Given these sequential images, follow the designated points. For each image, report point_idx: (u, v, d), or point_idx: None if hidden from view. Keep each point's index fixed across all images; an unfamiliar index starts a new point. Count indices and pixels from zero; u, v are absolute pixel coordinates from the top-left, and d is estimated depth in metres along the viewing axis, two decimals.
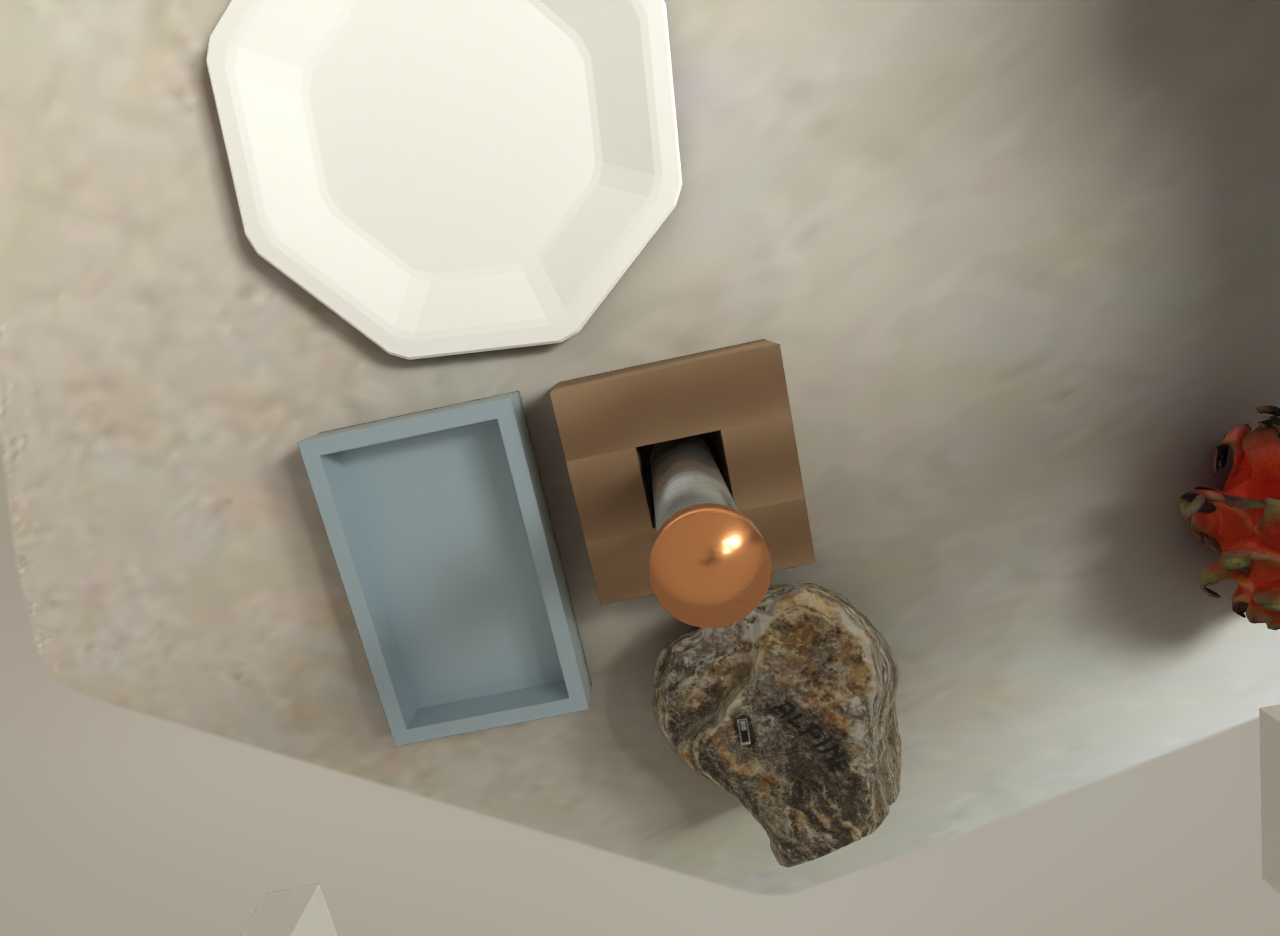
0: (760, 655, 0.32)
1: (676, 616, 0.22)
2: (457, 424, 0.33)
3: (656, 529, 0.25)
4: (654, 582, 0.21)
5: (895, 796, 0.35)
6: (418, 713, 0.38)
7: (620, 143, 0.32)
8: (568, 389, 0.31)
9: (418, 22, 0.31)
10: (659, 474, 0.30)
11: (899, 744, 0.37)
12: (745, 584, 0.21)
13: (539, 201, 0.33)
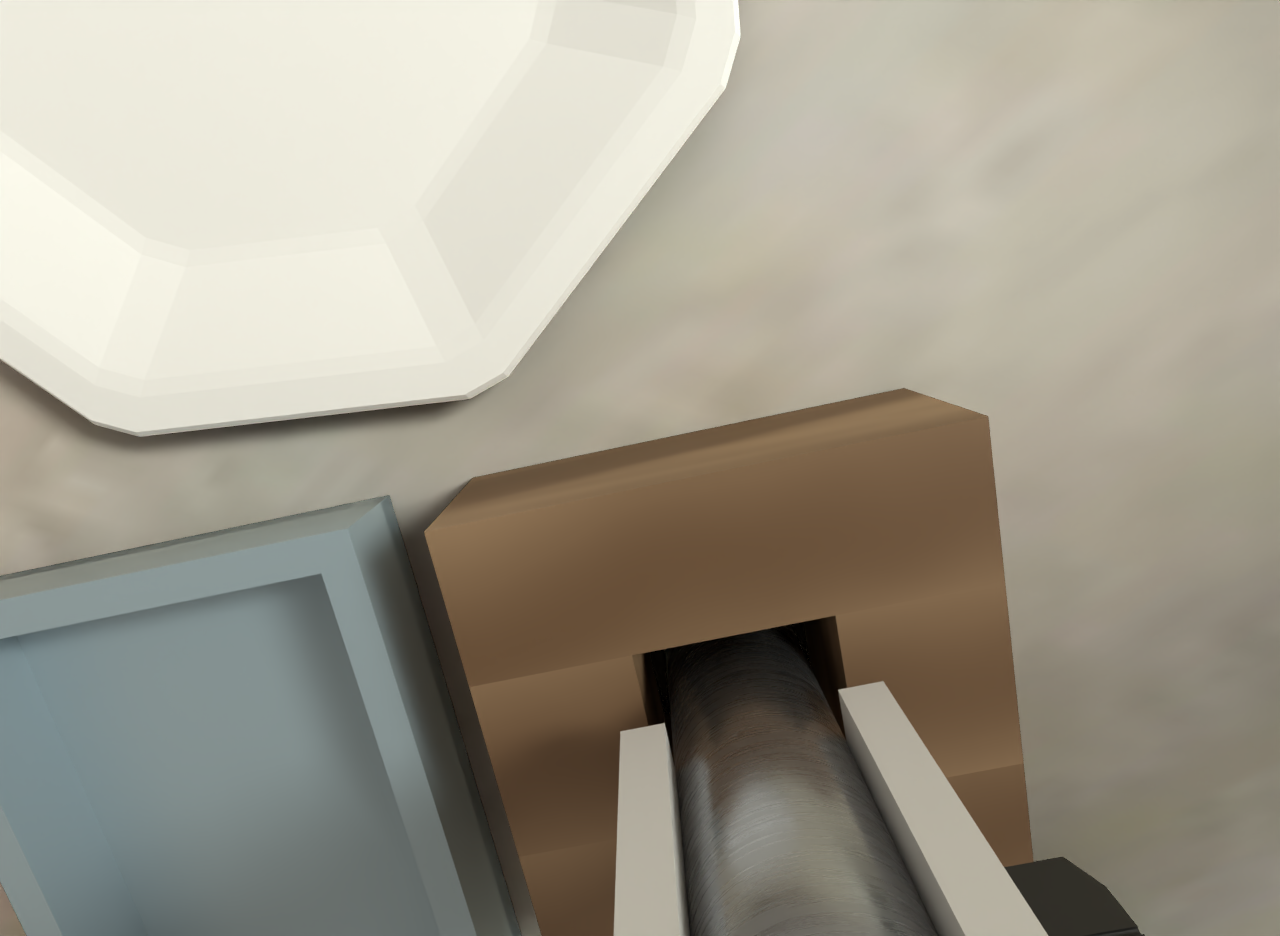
0: None
1: None
2: (232, 586, 0.15)
3: None
4: None
5: None
6: None
7: None
8: (469, 524, 0.13)
9: None
10: (695, 764, 0.11)
11: None
12: None
13: (416, 85, 0.15)
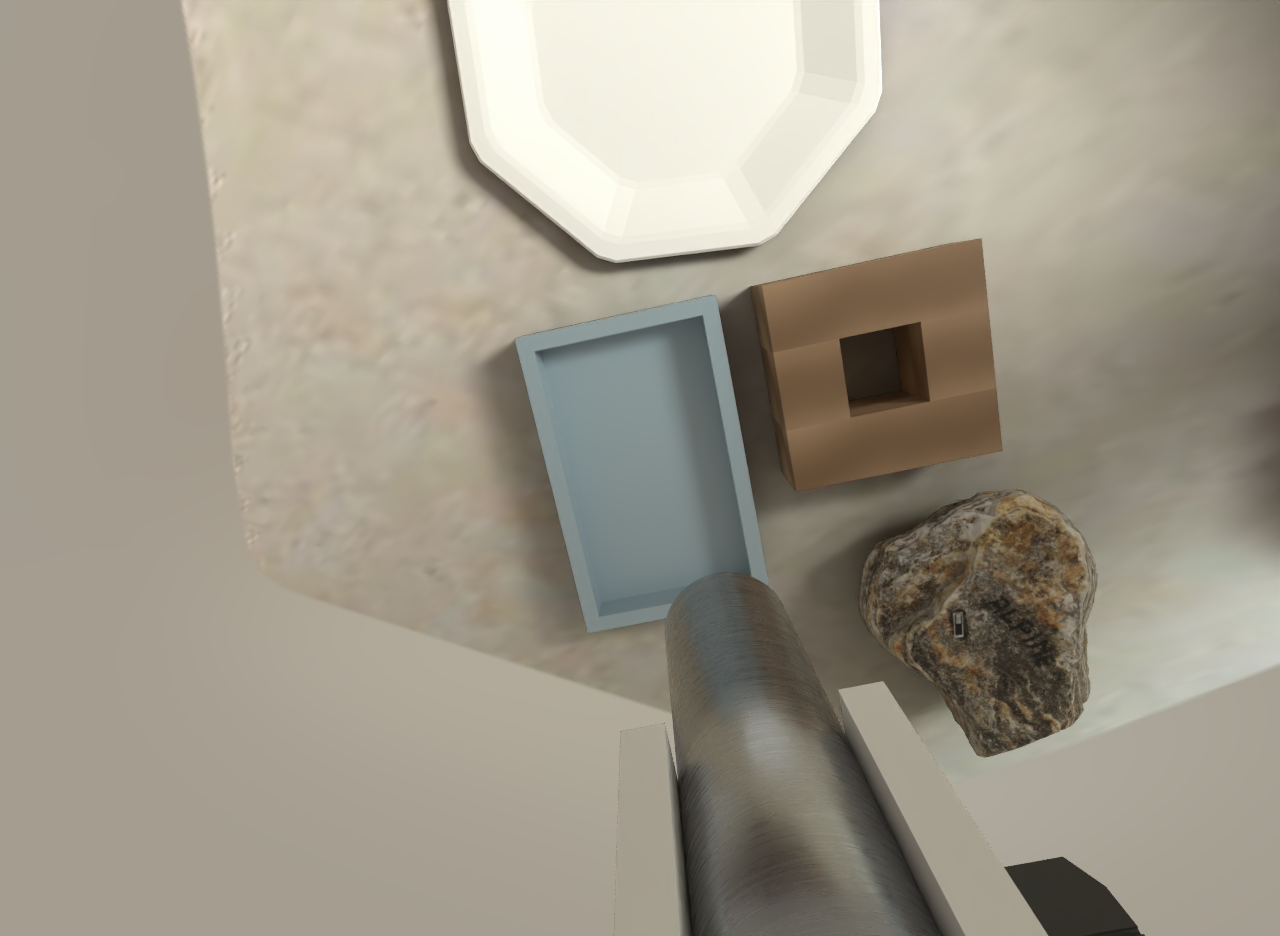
0: (980, 552, 0.35)
1: None
2: (665, 321, 0.35)
3: None
4: None
5: (1087, 696, 0.37)
6: (604, 605, 0.40)
7: (823, 53, 0.34)
8: (779, 282, 0.33)
9: None
10: (697, 761, 0.11)
11: None
12: None
13: (741, 110, 0.35)
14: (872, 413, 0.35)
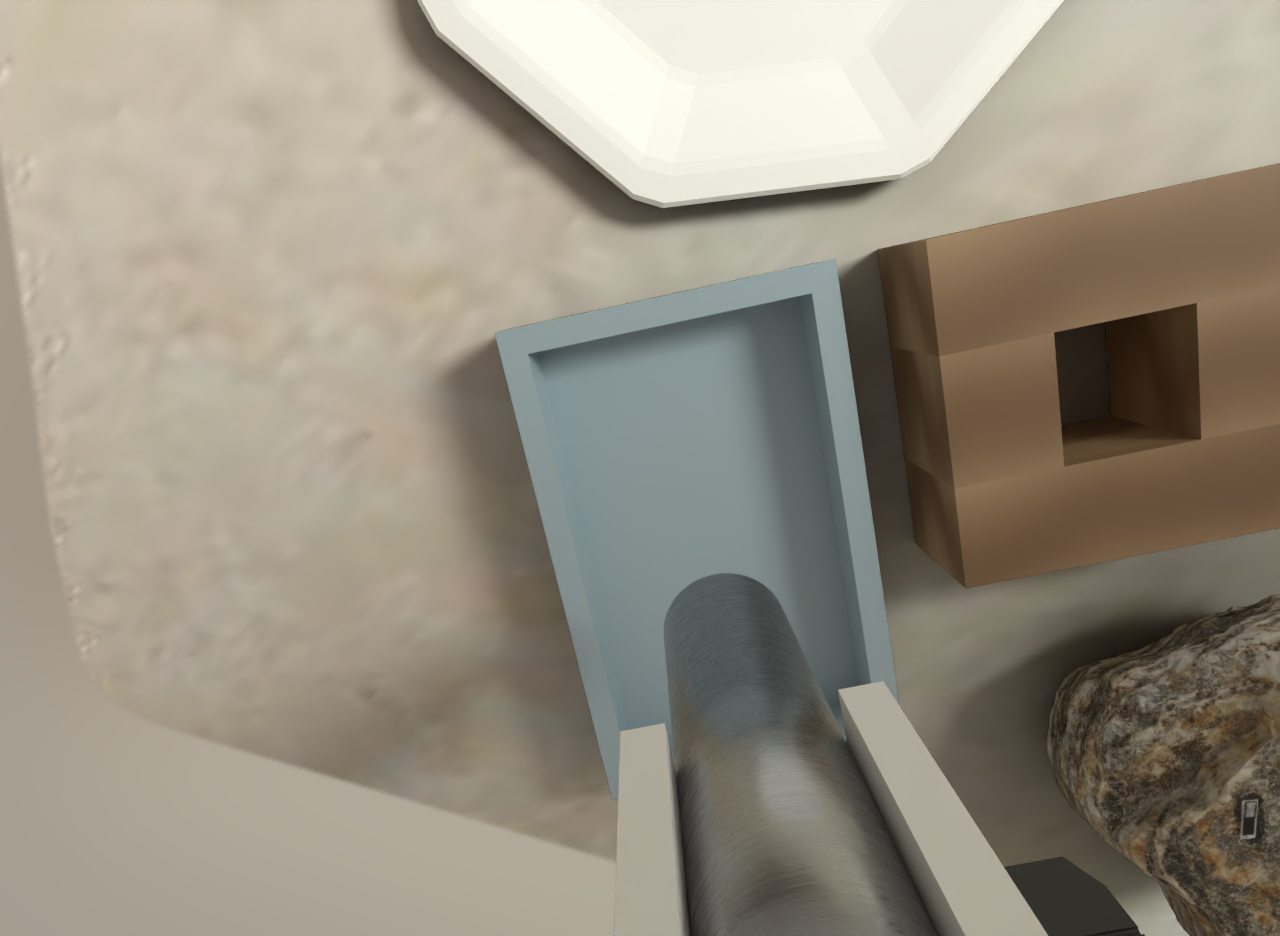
0: None
1: None
2: (747, 303, 0.21)
3: None
4: None
5: None
6: None
7: None
8: (957, 234, 0.19)
9: None
10: (695, 763, 0.11)
11: None
12: None
13: None
14: (1101, 459, 0.20)
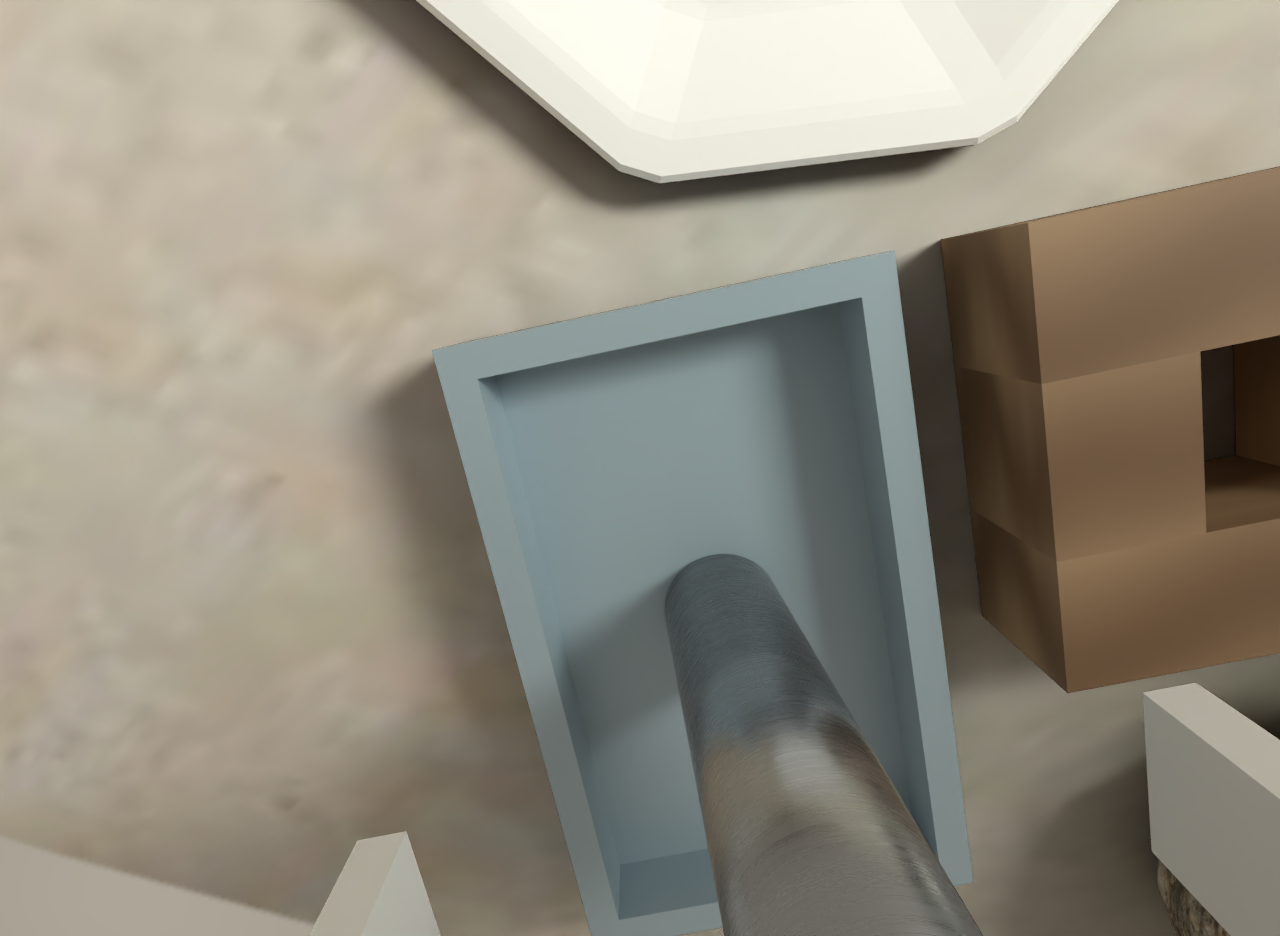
0: None
1: None
2: (775, 310, 0.15)
3: None
4: None
5: None
6: (627, 877, 0.20)
7: None
8: (1071, 215, 0.14)
9: None
10: (707, 716, 0.13)
11: None
12: None
13: None
14: (1256, 523, 0.15)
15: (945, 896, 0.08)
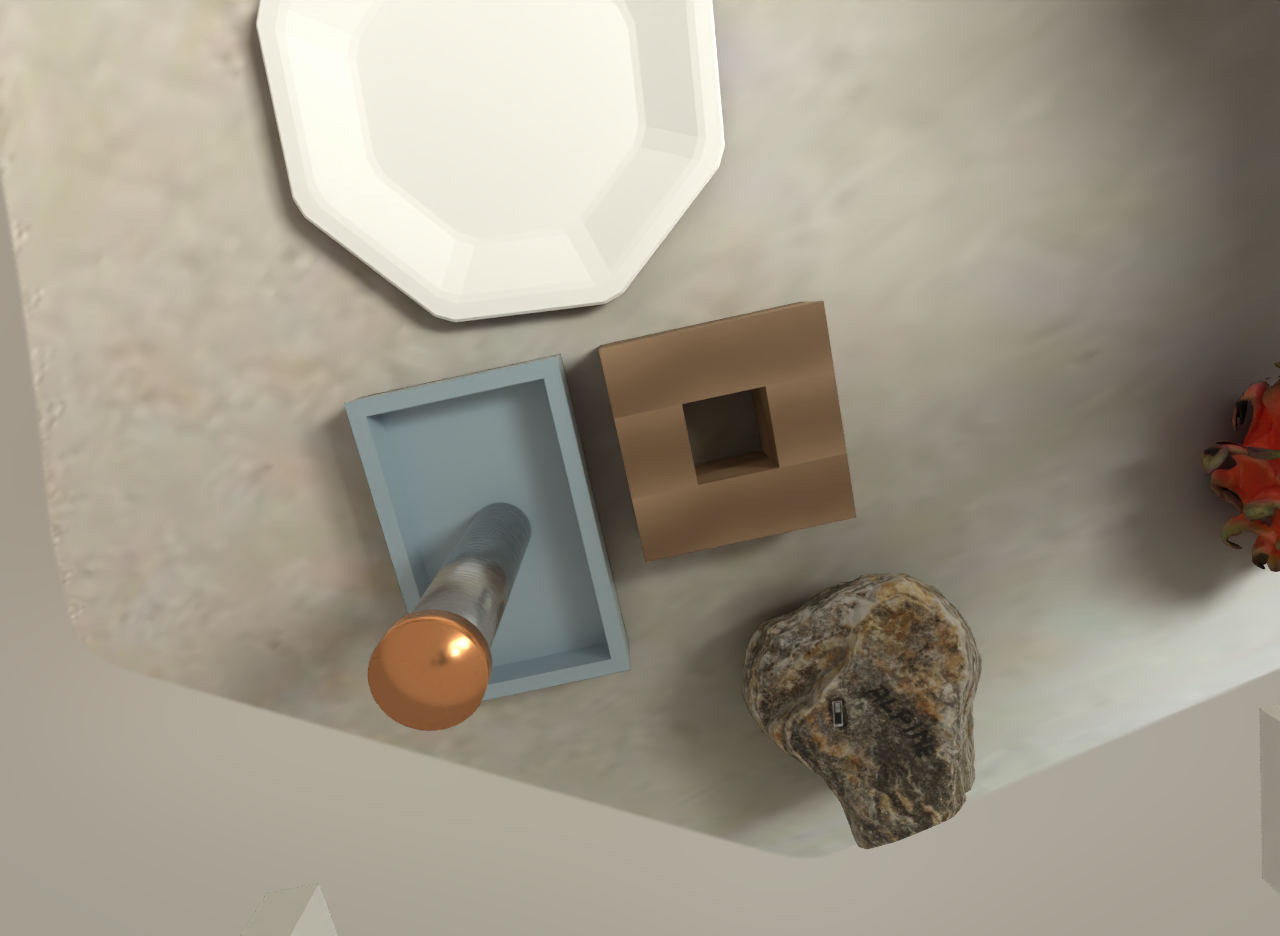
0: (860, 640, 0.34)
1: (398, 720, 0.22)
2: (504, 384, 0.33)
3: None
4: (373, 689, 0.22)
5: (971, 784, 0.36)
6: None
7: (663, 107, 0.33)
8: (617, 346, 0.32)
9: None
10: None
11: None
12: (462, 688, 0.22)
13: (583, 165, 0.34)
14: (720, 480, 0.33)
15: (479, 587, 0.26)
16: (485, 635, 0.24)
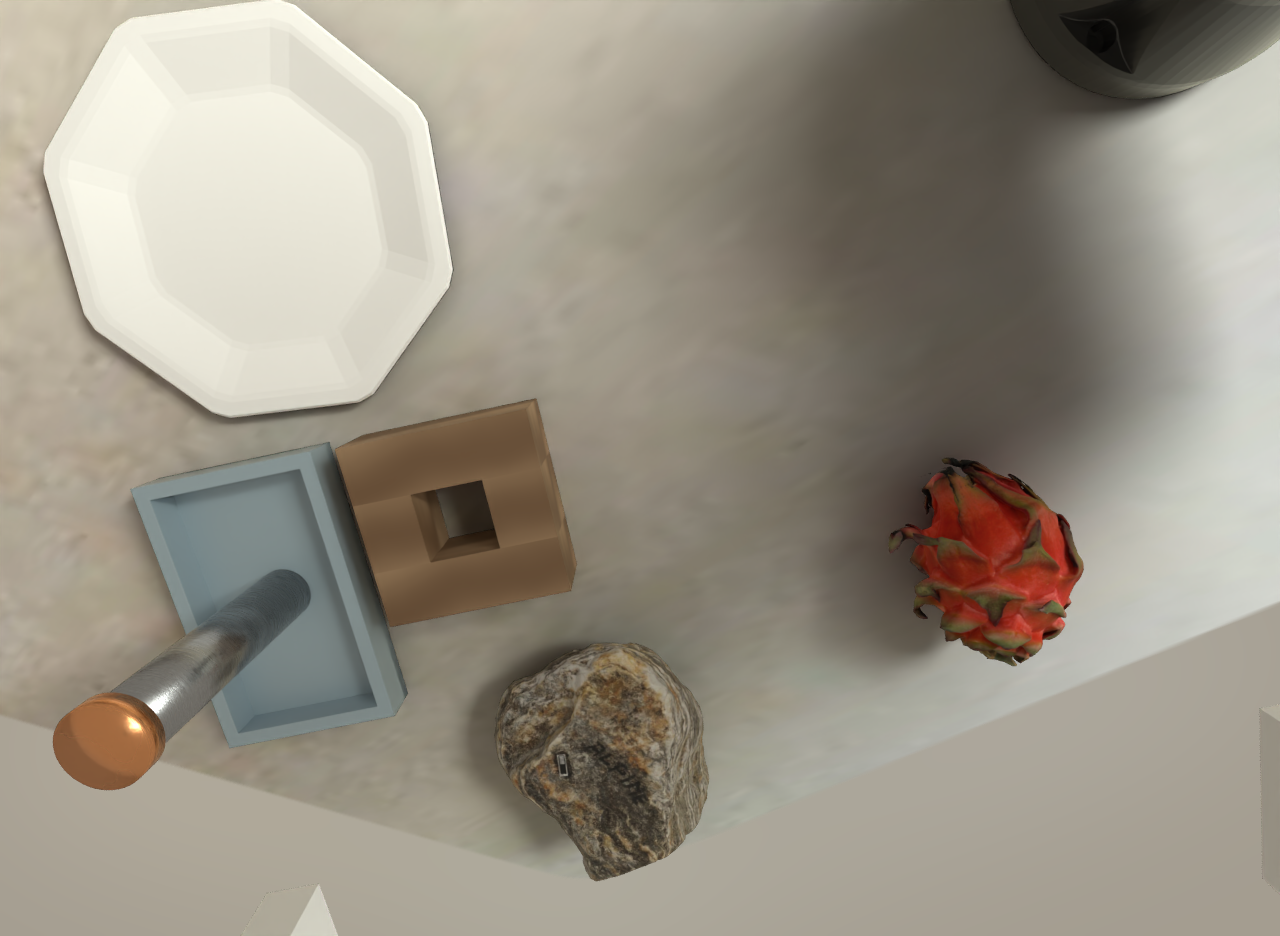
0: (579, 702, 0.39)
1: (82, 781, 0.28)
2: (266, 473, 0.39)
3: None
4: (58, 757, 0.28)
5: (692, 827, 0.41)
6: (254, 719, 0.44)
7: (400, 235, 0.38)
8: (350, 446, 0.37)
9: (224, 136, 0.37)
10: None
11: (706, 782, 0.43)
12: (130, 758, 0.28)
13: (336, 283, 0.39)
14: (450, 558, 0.38)
15: (186, 664, 0.32)
16: (170, 710, 0.30)
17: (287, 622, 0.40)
